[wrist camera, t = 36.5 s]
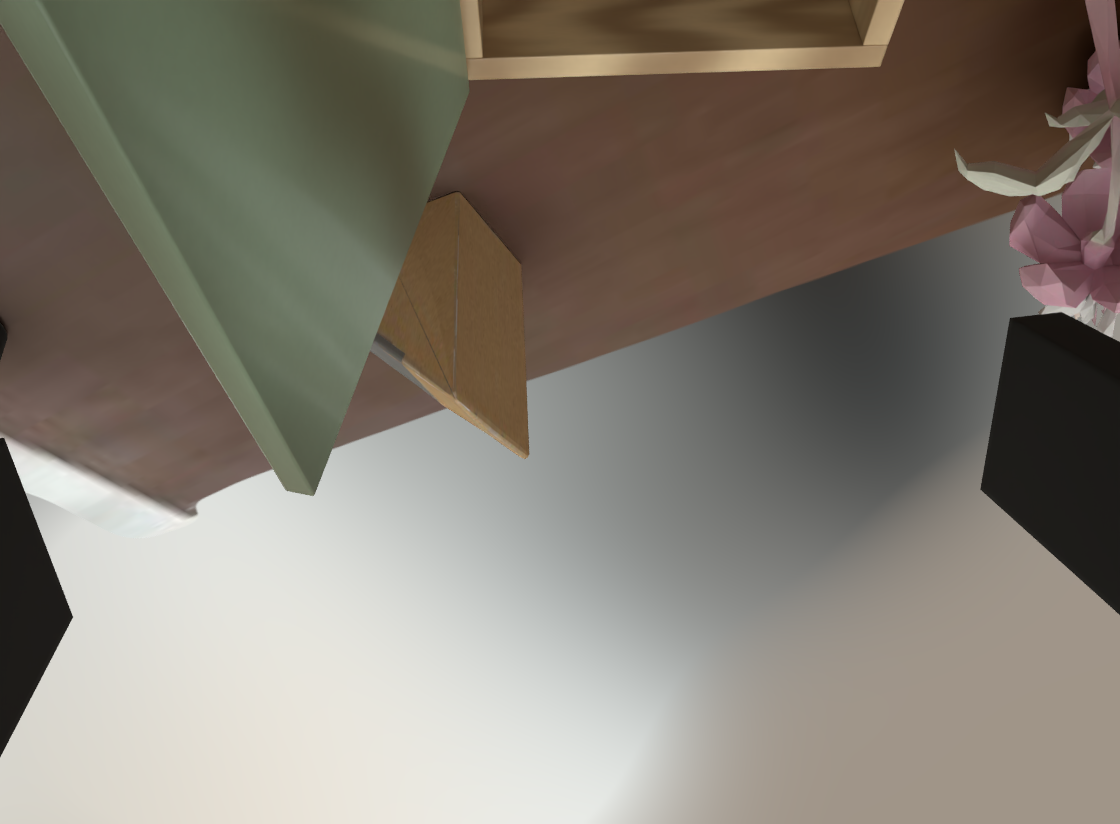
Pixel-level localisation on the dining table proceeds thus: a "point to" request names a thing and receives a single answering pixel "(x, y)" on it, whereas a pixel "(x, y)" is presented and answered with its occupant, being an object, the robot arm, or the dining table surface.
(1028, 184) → the flower
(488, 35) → the bin
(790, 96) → the dining table surface
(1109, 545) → the robot arm
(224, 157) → the lid
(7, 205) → the dining table surface
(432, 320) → the sandwich container
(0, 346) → the beverage can
